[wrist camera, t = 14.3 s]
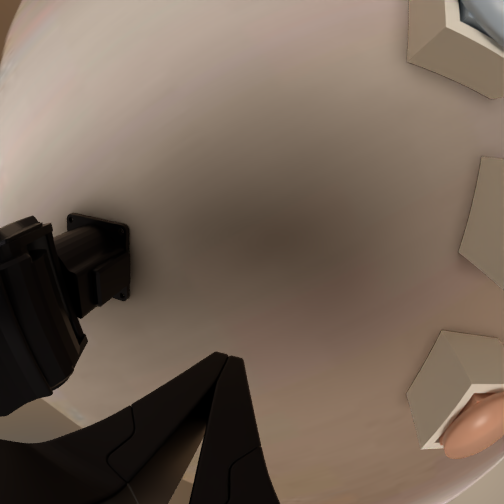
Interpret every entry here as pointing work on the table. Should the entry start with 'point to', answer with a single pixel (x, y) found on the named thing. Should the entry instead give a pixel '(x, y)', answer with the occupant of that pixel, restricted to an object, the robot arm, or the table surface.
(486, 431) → the terracotta button
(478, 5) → the slate blue button
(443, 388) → the button housings
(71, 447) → the robot arm
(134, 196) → the table surface
